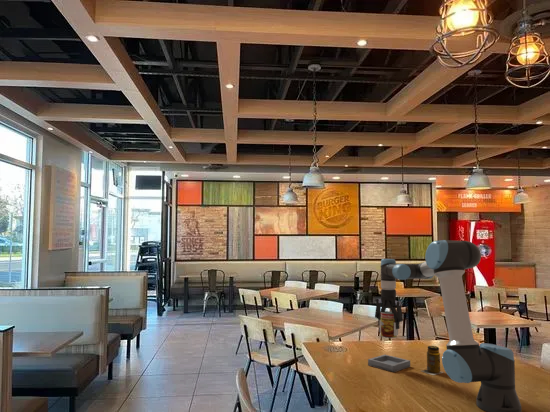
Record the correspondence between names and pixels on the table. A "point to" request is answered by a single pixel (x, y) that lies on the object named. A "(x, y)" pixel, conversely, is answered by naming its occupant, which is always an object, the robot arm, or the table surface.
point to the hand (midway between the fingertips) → (388, 333)
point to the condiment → (433, 361)
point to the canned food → (387, 324)
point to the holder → (389, 363)
